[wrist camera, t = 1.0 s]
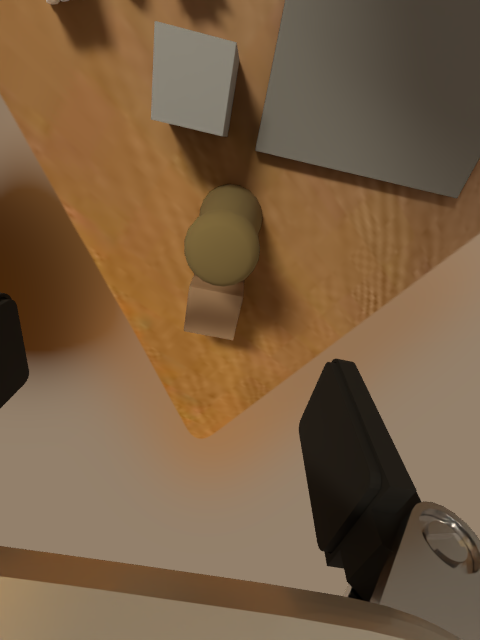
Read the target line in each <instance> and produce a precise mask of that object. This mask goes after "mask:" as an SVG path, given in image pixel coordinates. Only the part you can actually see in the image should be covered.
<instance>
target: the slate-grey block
mask: <svg viewBox="0 0 480 640" xmlns="http://www.w3.org/2000/svg"><path fill="white" fill-rule="evenodd" d="M238 66H239V55H238V49H237V43H236V42H233V41H229V40H225V39H221V38H218V37H214V36H210V35H206V34H203V33H199V32H195V31H191V30H187V29H184V28H180V27H176V26H172V25H168V24H165V23H161V22H157V21H155V30H154V56H153V82H152V108H151V119H152V120H156V121H160V122H165V123H169V124H173V125H177V126H181V127H186V128H190V129H194V130H198V131H202V132H206V133H211V134H215V135H219V136H224V137H228V131H229V125H230V118H231V112H232V105H233V99H234V92H235V86H236V79H237V73H238Z"/></svg>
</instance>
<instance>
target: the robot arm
mask: <svg viewBox="0 0 480 640" xmlns="http://www.w3.org/2000/svg"><path fill="white" fill-rule="evenodd" d="M28 376H29V369H28V364H27V358H26V353H25V347H24V342H23V336H22V331H21V326H20V320H19V315H18V309H17V305H16V303H15V301H13V300H12V299H11V297H10V296H9V295H7V294H5V293H0V408H1V407H2V406H3V405H4V404H5V403H6V402H7V401H8V400H9V399H10V398H11V397H12V396H13V395H14V394H15V393H16V392H17V391H18V390H19V389H20V388H21V387H22V386H23V385H24V384H25V382H26V381H27V379H28ZM299 435H300V441H301V447H302V453H303V459H304V465H305V471H306V477H307V483H308V489H309V495H310V501H311V507H312V513H313V519H314V525H315V532H316V537H317V543H318V546H319V548H320V550H321V551H324V552H325V557H326V563H327V566H331V567H338V568H344V570H345V575H346V579H347V582H348V583H349V584H348V586H347V589H346V591H345V593H344V595H343V596H338V595H332V594H326V593H320V592H313V591H308V590H302V589H296V588H289V587H284V586H277V585H271V584H265V583H258V582H252V581H245V580H237V579H231V578H224V577H217V576H210V575H203V574H195V573H189V572H182V571H175V570H168V569H161V568H154V567H147V566H141V565H134V564H126V563H119V562H112V561H105V560H98V559H91V558H84V557H76V556H69V555H62V554H55V553H48V552H40V551H33V550H26V549H19V548H11V547H4V546H0V640H480V540H479V539H478V537H477V535H476V534H475V533H474V532H473V531H472V529H471V528H470V527H469V526H468V525H467V524H466V523H465V522H464V521H463V520H462V519H461V518H459V517H458V516H457V515H456V514H455V513H453V512H452V511H450V510H448V509H447V508H445V507H444V506H441V505H438V504H436V503H433V502H421V500H420V498H419V496H418V494H417V492H416V488H415V486H414V484H413V482H412V480H411V478H410V476H409V474H408V472H407V470H406V468H405V466H404V464H403V462H402V460H401V458H400V455H399V453H398V451H397V449H396V447H395V445H394V443H393V441H392V439H391V437H390V435H389V433H388V431H387V429H386V427H385V425H384V423H383V420H382V418H381V416H380V414H379V412H378V410H377V408H376V406H375V404H374V402H373V400H372V398H371V396H370V394H369V391H368V390H367V387H366V385H365V383H364V381H363V379H362V377H361V375H360V373H359V371H358V369H357V367H356V365H355V363H354V362H350V361H345V360H340V359H334V360H333V361H332V362H327V363H326V364H325V367H324V369H323V371H322V373H321V375H320V378H319V380H318V382H317V384H316V387H315V389H314V391H313V393H312V395H311V398H310V400H309V402H308V405H307V407H306V409H305V411H304V413H303V416H302V418H301V420H300V424H299Z"/></svg>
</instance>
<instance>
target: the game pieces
mask: <svg viewBox="0 0 480 640" xmlns="http://www.w3.org/2000/svg"><path fill="white" fill-rule="evenodd" d="M46 1H47V3H48V4H58V3H59V2H60V1H62V2H64V1H69V0H46Z"/></svg>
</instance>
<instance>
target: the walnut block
mask: <svg viewBox="0 0 480 640" xmlns="http://www.w3.org/2000/svg"><path fill="white" fill-rule="evenodd" d="M243 293H244V280H243V281H241V282H239V283H237V284H235V285H230V286H225V287H223V286H215V285H211V284H209V283H207V282H204V281H202V280H201V279H200V278H199V277H197V276H196V275H195V274H194V277H193V279H192V281H191V284H190V286H189V293H188V301H187V309H186V317H185V325H184V331H186V332H192V333H197V334H202V335H208V336H213V337H218V338H224V339H229V340H233V339H234V334H235V330H236V326H237V322H238V317H239V313H240V309H241V305H242V300H243Z"/></svg>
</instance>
